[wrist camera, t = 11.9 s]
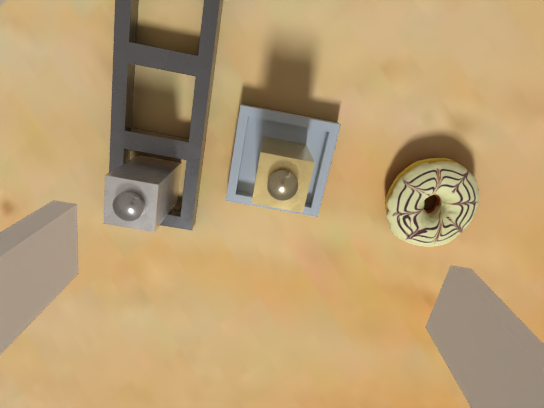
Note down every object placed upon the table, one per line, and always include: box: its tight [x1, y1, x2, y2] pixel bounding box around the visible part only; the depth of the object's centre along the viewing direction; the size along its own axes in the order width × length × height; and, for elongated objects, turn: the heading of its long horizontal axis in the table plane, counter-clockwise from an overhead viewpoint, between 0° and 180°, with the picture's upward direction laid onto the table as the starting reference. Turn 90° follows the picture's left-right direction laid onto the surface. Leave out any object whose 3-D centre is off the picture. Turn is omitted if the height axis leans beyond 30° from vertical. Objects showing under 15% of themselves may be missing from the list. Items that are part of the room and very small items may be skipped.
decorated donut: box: [385, 158, 479, 247], centre depth 42 cm, size 10×11×4 cm
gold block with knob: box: [251, 136, 315, 213], centre depth 37 cm, size 5×5×10 cm
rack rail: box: [109, 0, 223, 230], centre depth 39 cm, size 28×10×2 cm, turn 169°
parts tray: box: [226, 104, 340, 217], centre depth 41 cm, size 11×11×2 cm
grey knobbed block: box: [104, 155, 181, 232], centre depth 38 cm, size 5×5×10 cm
